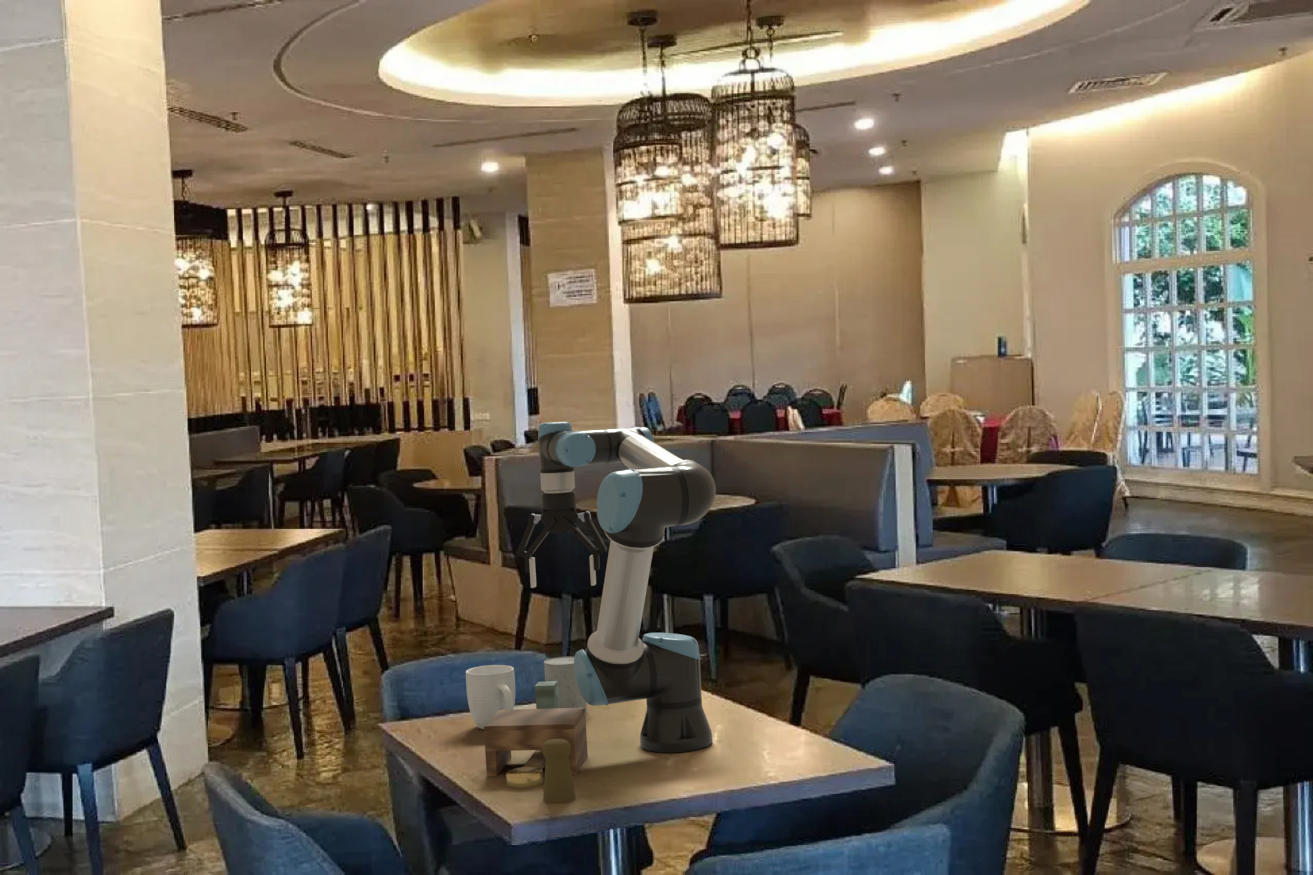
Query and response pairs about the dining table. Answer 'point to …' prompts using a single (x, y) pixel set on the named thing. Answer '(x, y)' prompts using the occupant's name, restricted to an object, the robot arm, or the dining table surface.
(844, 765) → the dining table surface
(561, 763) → the cork
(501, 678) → the mug
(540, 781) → the token
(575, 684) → the speckled white cylinder
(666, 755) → the dining table surface
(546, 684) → the sweep tool
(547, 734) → the wooden bench
